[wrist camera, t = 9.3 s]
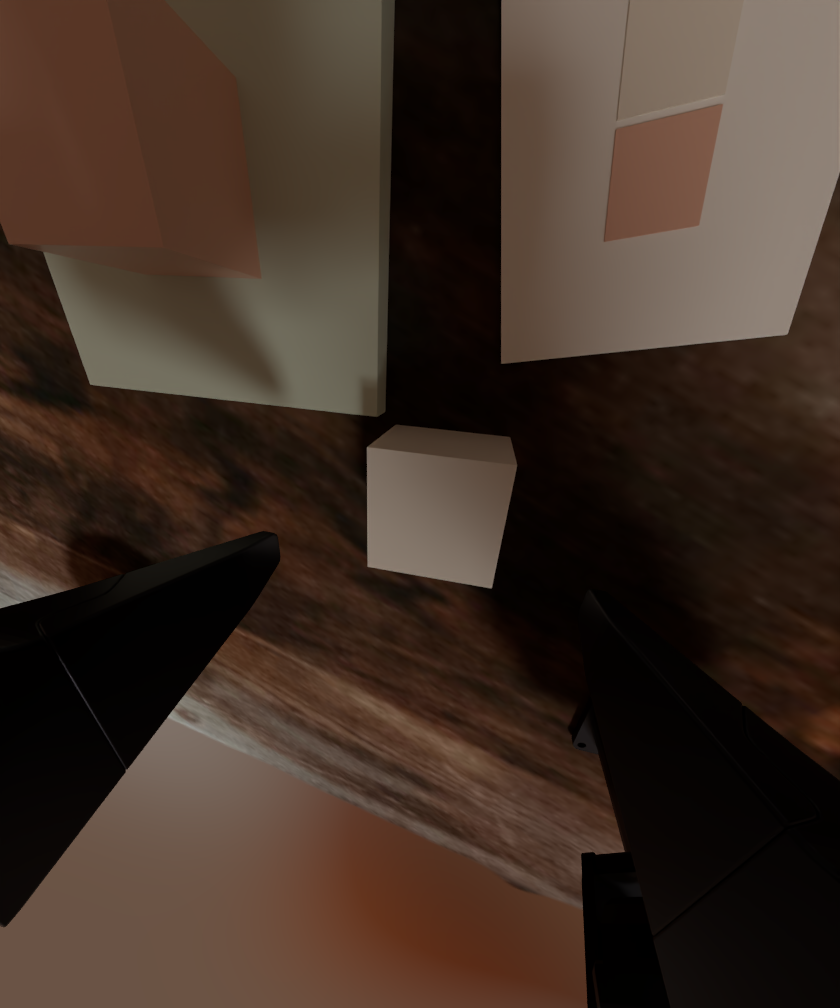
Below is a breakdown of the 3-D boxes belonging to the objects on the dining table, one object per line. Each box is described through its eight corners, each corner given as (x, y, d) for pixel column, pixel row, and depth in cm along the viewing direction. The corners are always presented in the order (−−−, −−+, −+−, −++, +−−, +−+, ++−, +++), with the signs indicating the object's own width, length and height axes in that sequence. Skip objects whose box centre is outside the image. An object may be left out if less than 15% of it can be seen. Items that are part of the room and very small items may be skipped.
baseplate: (385, 412, 14) (376, 416, 13) (116, 382, 16) (90, 384, 15) (398, -159, 8) (384, -235, 7) (-36, -93, 10) (-99, -146, 9)
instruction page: (783, 334, 11) (788, 334, 10) (501, 363, 13) (501, 363, 12) (1023, -422, 6) (1043, -450, 6) (501, -184, 8) (501, -198, 7)
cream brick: (491, 535, 16) (491, 588, 12) (393, 521, 17) (367, 566, 13) (510, 436, 14) (517, 465, 10) (396, 423, 15) (366, 447, 11)
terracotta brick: (261, 278, 12) (163, 247, 8) (145, 274, 13) (8, 243, 9) (236, 77, 10) (87, -83, 6) (96, 86, 10) (-109, -53, 7)
